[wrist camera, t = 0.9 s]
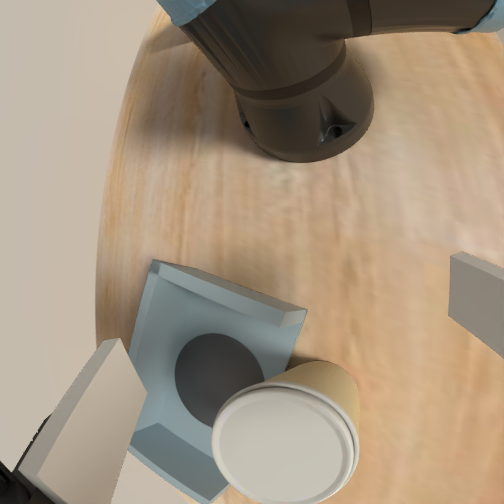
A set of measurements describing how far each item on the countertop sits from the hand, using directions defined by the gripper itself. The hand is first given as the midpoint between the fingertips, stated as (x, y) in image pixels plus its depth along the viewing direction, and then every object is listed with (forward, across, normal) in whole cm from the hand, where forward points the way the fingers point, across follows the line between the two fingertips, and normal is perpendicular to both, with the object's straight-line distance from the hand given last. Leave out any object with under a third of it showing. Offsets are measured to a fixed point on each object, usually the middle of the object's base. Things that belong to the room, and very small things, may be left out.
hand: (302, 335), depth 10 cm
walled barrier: (+16, -8, -14) cm, 23 cm away
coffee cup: (+11, +2, -15) cm, 19 cm away
